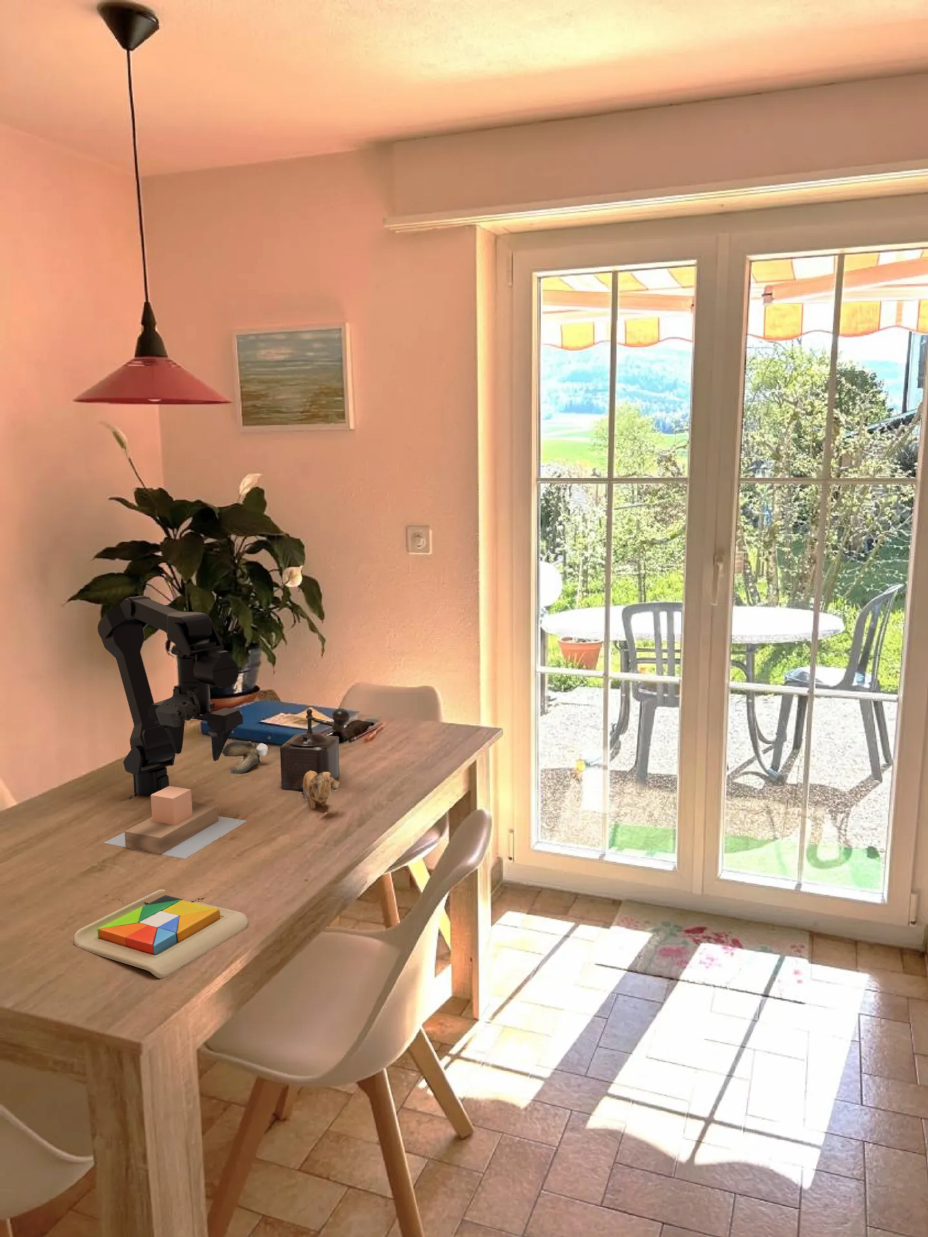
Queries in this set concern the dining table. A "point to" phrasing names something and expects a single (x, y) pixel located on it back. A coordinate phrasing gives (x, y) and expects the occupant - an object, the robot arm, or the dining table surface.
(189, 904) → the wooden puzzle
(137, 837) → the plinth
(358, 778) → the dining table surface
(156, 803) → the cap block
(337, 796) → the dining table surface
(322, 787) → the lion figurine
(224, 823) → the build board
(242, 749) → the eagle figurine
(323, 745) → the manual coffee grinder
